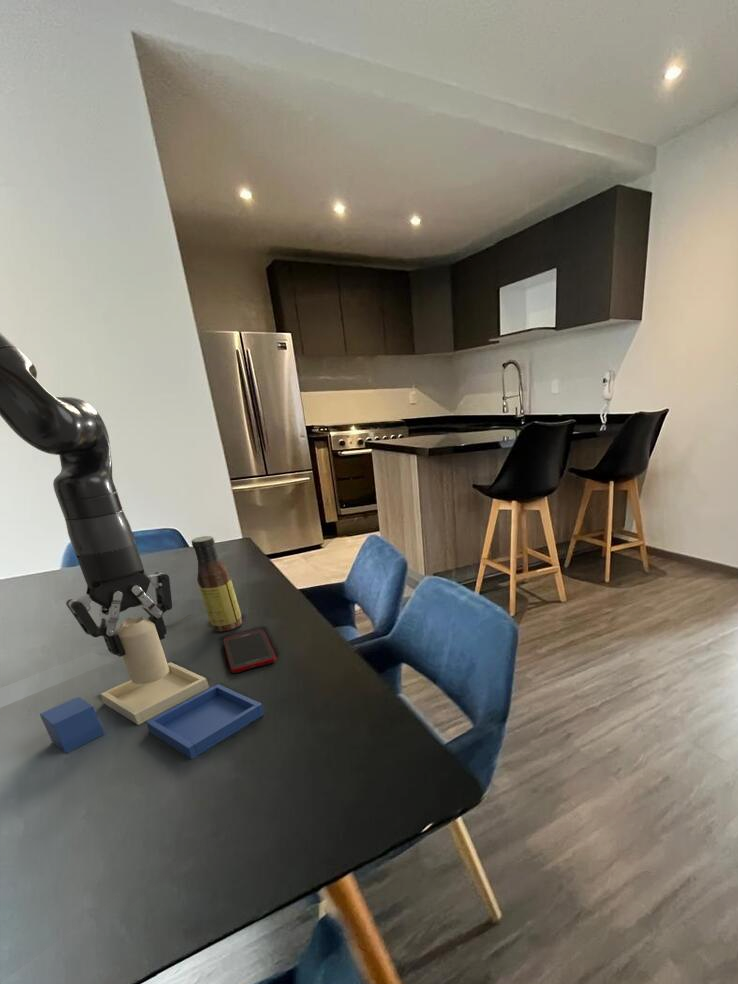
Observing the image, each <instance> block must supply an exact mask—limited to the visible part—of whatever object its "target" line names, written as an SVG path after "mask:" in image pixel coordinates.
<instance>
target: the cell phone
mask: <svg viewBox="0 0 738 984" xmlns="http://www.w3.org/2000/svg"><path fill="white" fill-rule="evenodd" d="M223 645H224V649H225V653H226V657H227V660H228V664H229V667H230V671H231V673H233V674H237V673H241V672H243V671H249V670H251V669H255V668H258V667H262V666H266V665H270V664H272V663H275V662H276V660H277V659H276V654H275V652H274V649H273V647H272V646H271V643H270V642H269V639H268V636H267V635H266V631H264V630H263V629H256V630H253V631H249V632H245V633H240V634H237V635H232V636H228V637H226V638H224V639H223Z"/></svg>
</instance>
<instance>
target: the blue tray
mask: <svg viewBox="0 0 738 984" xmlns="http://www.w3.org/2000/svg"><path fill="white" fill-rule="evenodd" d="M264 715H265V711H264V707H263V704H262V703H260V702H259V701H256V700H254V699H252V698H249V697H248V696H245V695H244V694H241V693H239V692H236V691H234V690H232V689H230V688H228V687H226V686H224V685H222V684H219V683H217V684H215V685H213V686H211V687H209V688H208V689H206V690H204V691H202V692H201V693H199V694H197V695H195V696H193V697H191V698H189V699H187V700H185V701H183V702H181V703H179V704H178V705H176V706H174V707H172V708H170V709H168V710H166V711H164V712H162V713H160V714H158V715H157V716H155V717H153V718H151V719H149V720H147V721H145V724H146V726H147V729H148V733H150V734H152V735H153V736H155V737H156V738H158V739H159V740H161V741H162V742H164V743H165V744H166V745H168V746H170V747H171V748H173V749H175V750H177V751H178V752H180V753H181V754H183V755H185V756H186V757H188V758H189V759H190V760H193V759H195V758H196V757H198V756H199V755H201V754H203V753H204V752H206V751H208V750H209V749H211V748H212V747H214V746H216V745H217V744H220V742H222V741H223V740H226V739H227V738H229V737H230V736H232V735H234V734H235V733H237V732H238V731H240V730H242V729H243V728H245V727H246V726H248V725H250V724H251V723H253V722H255V721H256V720H258V719H259V718H261V717H263V716H264Z"/></svg>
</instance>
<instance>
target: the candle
mask: <svg viewBox="0 0 738 984" xmlns="http://www.w3.org/2000/svg"><path fill="white" fill-rule="evenodd" d="M115 633H117V634H118V635H119V638H120V641H121V644H122V646H123V649H124V652H125V655H123V656H121V657H122V660H123V661H124V664H125V667H126V670H127V673H128V676H129V678H130V680H131V681H132V682H133V683H134V684H147V683H151V682H154V681H157V680H159V679H161V678H163V677H164V676H166V675H167V674H168V672H169V667H168V664H167V663H168V661H167V658H166V654H165V652H164V649H163V648H164V647H163V646H162V643H161V640H160V639H159V636H158V633H157V630H156V627H155V624H154V623H153V622H151V621H149V619H148V618H145V617H143V616H140V617H138V618H133V617H129V618H125V620H123V622H122V623H121V624H120V625H119V626H118V627H117V628H116V631H115Z"/></svg>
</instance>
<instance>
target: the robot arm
mask: <svg viewBox="0 0 738 984" xmlns="http://www.w3.org/2000/svg"><path fill="white" fill-rule="evenodd" d="M37 371H38V370H37V368H36V366H35V364H34V363H33V362H32V361H31V359H30V358H29V357H27V356H26V354H24V353H23V352H22V351H21V350H20V349H19V348H18V347H17V346H16V345H15V344H14V343H12V341H10V340H9V339H8V338H7V337H6V336H5V335H3V334H2V333H1V332H0V417H1V418H2V419H3V421H4V422H5V423H6V424H7V425H8V426H9V428H10V429H11V430H12V431H13V432H14V433H15V434H16V435H17V436H18V437H19V438H20V439H22V440H23V441H24V442H25V443H27V444H28V445H30V446H31V447H33V448H35V449H36V450H39V451H41V452H43V453H46V454H49V455H54V456H58V457H59V461H60V468H61V470H60V472H59V473H58V475H57V476H56V477H54V479H53V483H52V486H53V490H54V493H55V497H56V499H57V502H58V504H59V507H60V510H61V513H62V515H63V518H64V521H65V525H66V530H67V535H68V537H69V540H70V543H71V546H72V548H73V551H74V554H75V556H76V557H75V558H76V559H77V562H78V564H79V568H80V569H81V573H82V575H83V578H84V580H85V583H86V586H87V588H86V594H84V595H82V596H80V597H78V598H75V599H74V598H71V599H68V600H67V601H66V602H65V603H66V604H65V605H66V606H67V608H68V609H69V611H70V613H71V614H72V615H73V617H74V619H75V620H76V621H77V623H78V624H79V626H80V628H81V629H82V630H83V632H84V633H85V634H87V635H89V636H91V637H92V638H99V637H103V640H104V642H105V645H106V647H107V649H108V650H107V651H108V652H109V653H110V654H112V655H114V656H116V657H119V658H121V657H122V656H123V655H125V652H124V649H123V646H122V644H121V641H120V638H119V635H118V634H117V633H115V632H116V630H117V623H118V621H119V619H120V613H122V612H124V611H126V610H128V609H130V608H136V607H140V608H141V609H142V610H143V611H144V612H145V613H146V614H147V615H148V617H147V620H149V621H151V622H153V623H154V624H155V627H156V630H157V633H158V636H159V639H160V641H161V640H164V639H166V636H165V635H167V633H168V632H167V631H168V630H167V628H166V624H165V621H164V618H163V615H164V613H166V612H168V611H170V610H172V609H173V599H172V590H171V581H170V580H171V579H170V576H169V574H167V573H163V572H159V571H156V572H155V573H154V574H148V573H147V572H146V571H145V570H144V569H145V568H144V564H143V561H142V559H141V558H142V557H141V555H140V552H139V549H138V545H137V543H136V542H137V541H136V540H135V534H134V532H133V530H132V527H131V524H130V522H129V520H128V517H127V516H126V514H125V512H124V509H123V505H122V503H121V500H120V497H119V493H118V490H117V488H116V486H115V483H114V477H113V460H112V451H111V443H110V435H109V433H108V429H107V426H106V424H105V422H104V420H103V418H102V417H101V415H100V413H99V412H98V411H97V409H95V407H94V406H92V405H91V404H90V403H88V402H87V401H85V400H83V399H80V398H76V397H73V396H54V395H53V394H52V393H51V392H49V391H48V390H47V389H46V388H45V387H44V385H42V384H41V383H40V382H39V381H38V380H37V379H38V372H37ZM150 584H151V586H152V587H153V588H155V589H154V590H155V597H156V603H155V602H154V601H153V600H152V599H151V598H150V597H149V596H148V595H147V593H148V589H149V587H150ZM91 602H94V603H95V604H97V605H99V606H100V607H99V618H100V619H99V625H97V623H96V622H95V620H94V619H93V618H92V616H91V614H90V613H89V612H90V610H91V608H92V607H91Z"/></svg>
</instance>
